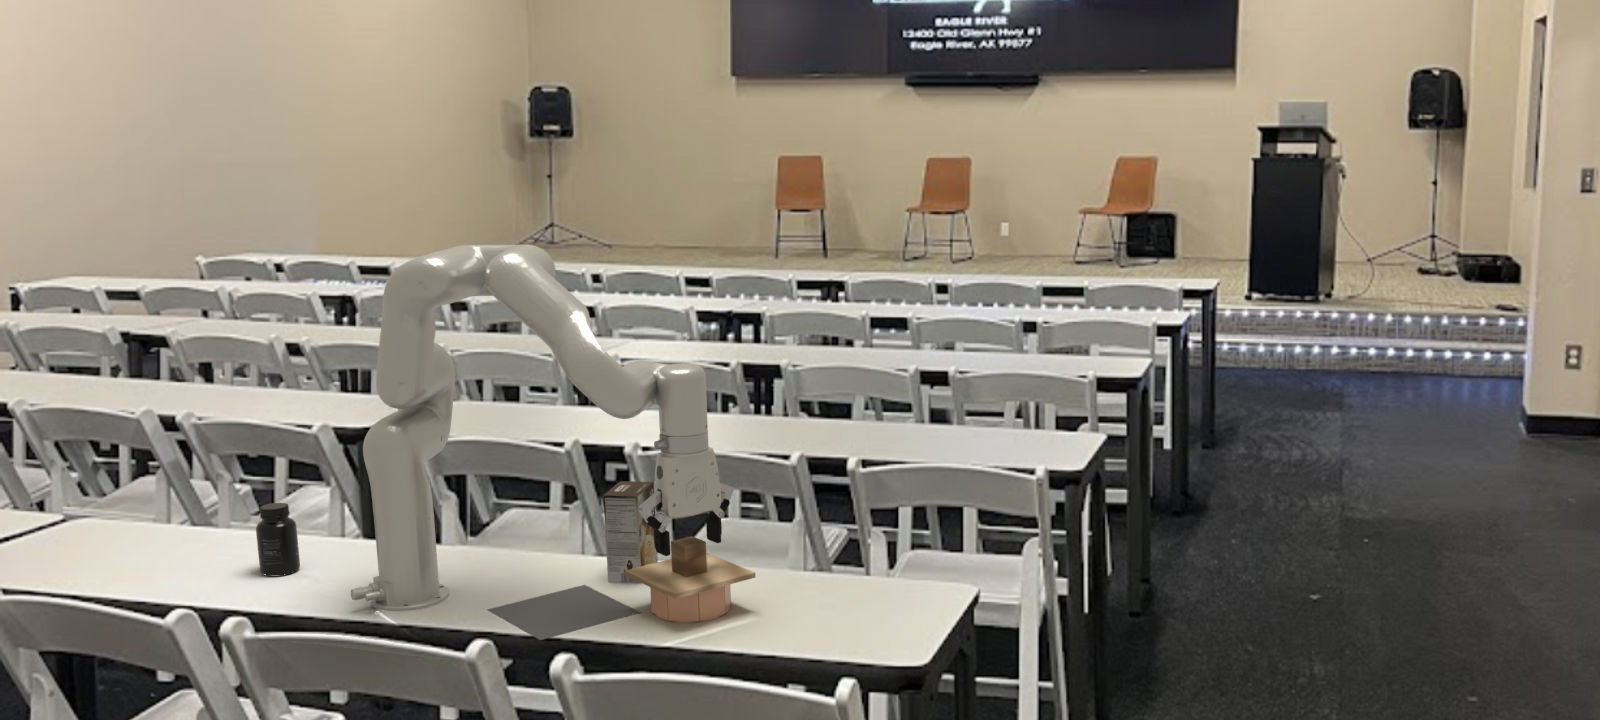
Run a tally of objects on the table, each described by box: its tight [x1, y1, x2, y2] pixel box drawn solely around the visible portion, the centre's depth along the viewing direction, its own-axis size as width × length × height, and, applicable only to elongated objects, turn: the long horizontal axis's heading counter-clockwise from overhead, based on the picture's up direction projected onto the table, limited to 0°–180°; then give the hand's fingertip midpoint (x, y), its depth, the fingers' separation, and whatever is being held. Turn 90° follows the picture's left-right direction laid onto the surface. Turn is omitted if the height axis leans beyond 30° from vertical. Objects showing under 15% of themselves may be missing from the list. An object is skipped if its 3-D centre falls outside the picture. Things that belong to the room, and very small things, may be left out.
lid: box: [625, 535, 756, 599], centre depth 244 cm, size 15×15×6 cm
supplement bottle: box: [255, 502, 301, 576], centre depth 271 cm, size 7×7×12 cm
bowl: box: [649, 584, 732, 623], centre depth 245 cm, size 12×12×6 cm
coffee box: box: [602, 480, 659, 585], centre depth 261 cm, size 9×6×16 cm
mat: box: [486, 584, 642, 641], centre depth 246 cm, size 18×18×1 cm
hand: (688, 547), depth 243 cm, fingers open, 9 cm apart
